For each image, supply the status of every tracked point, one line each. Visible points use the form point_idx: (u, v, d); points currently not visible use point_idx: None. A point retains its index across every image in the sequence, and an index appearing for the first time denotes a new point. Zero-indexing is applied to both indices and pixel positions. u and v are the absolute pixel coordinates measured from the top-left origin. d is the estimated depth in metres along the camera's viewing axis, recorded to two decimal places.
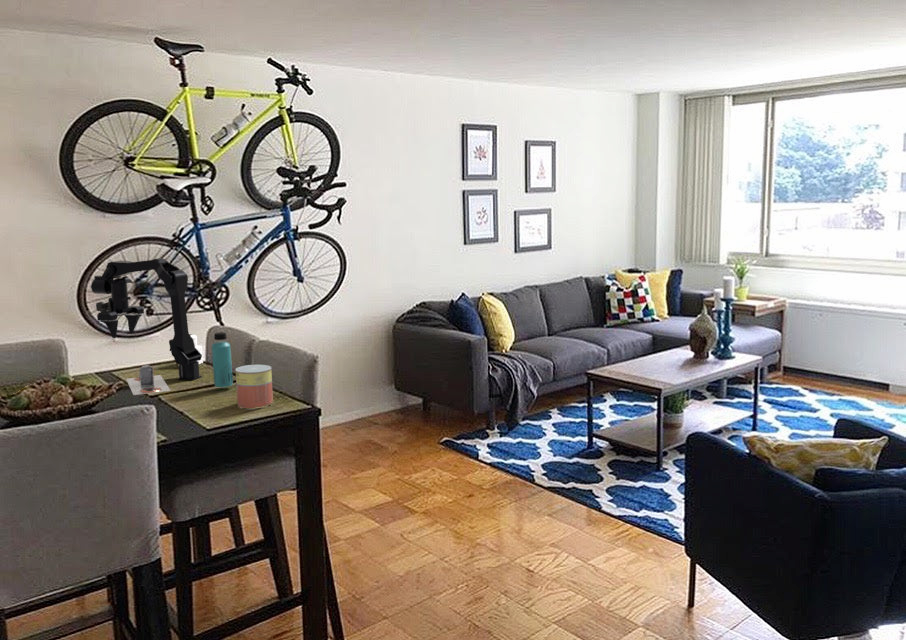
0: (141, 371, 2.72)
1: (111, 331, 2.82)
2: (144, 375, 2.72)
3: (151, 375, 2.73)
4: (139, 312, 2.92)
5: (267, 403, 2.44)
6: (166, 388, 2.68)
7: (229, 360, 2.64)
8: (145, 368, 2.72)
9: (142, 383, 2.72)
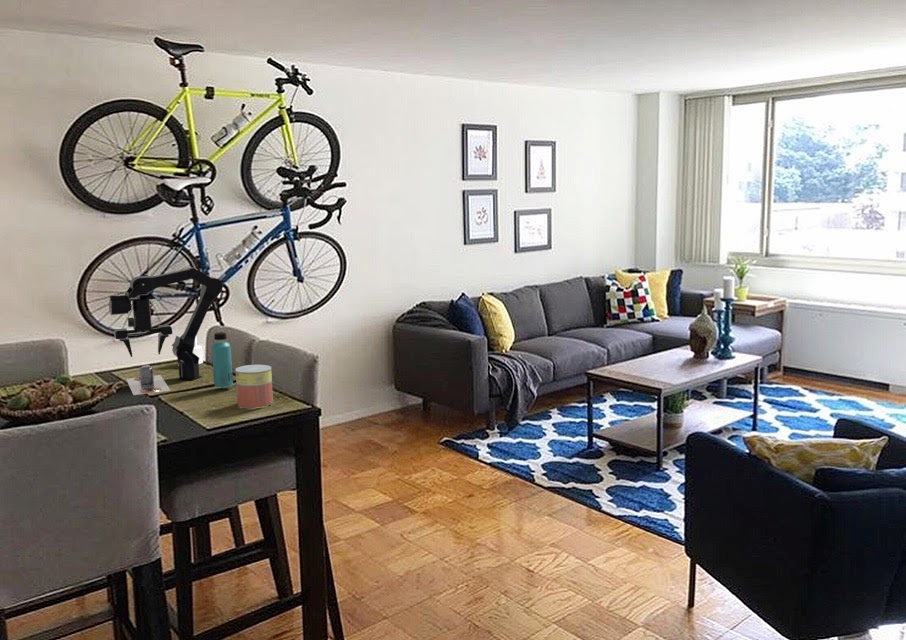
0: (141, 371, 2.72)
1: None
2: (144, 375, 2.72)
3: (151, 375, 2.73)
4: (163, 333, 2.72)
5: (267, 403, 2.44)
6: (166, 388, 2.68)
7: (229, 360, 2.64)
8: (145, 368, 2.72)
9: (142, 383, 2.72)
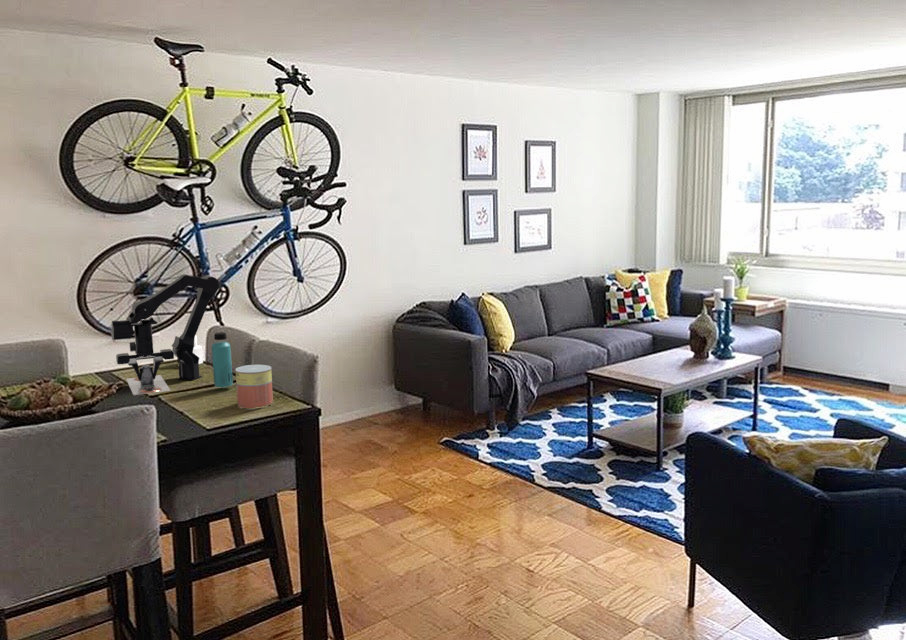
0: (141, 371, 2.72)
1: None
2: (144, 375, 2.72)
3: (151, 375, 2.73)
4: (165, 357, 2.73)
5: (267, 403, 2.44)
6: (166, 388, 2.68)
7: (229, 360, 2.64)
8: (145, 368, 2.72)
9: (142, 383, 2.72)
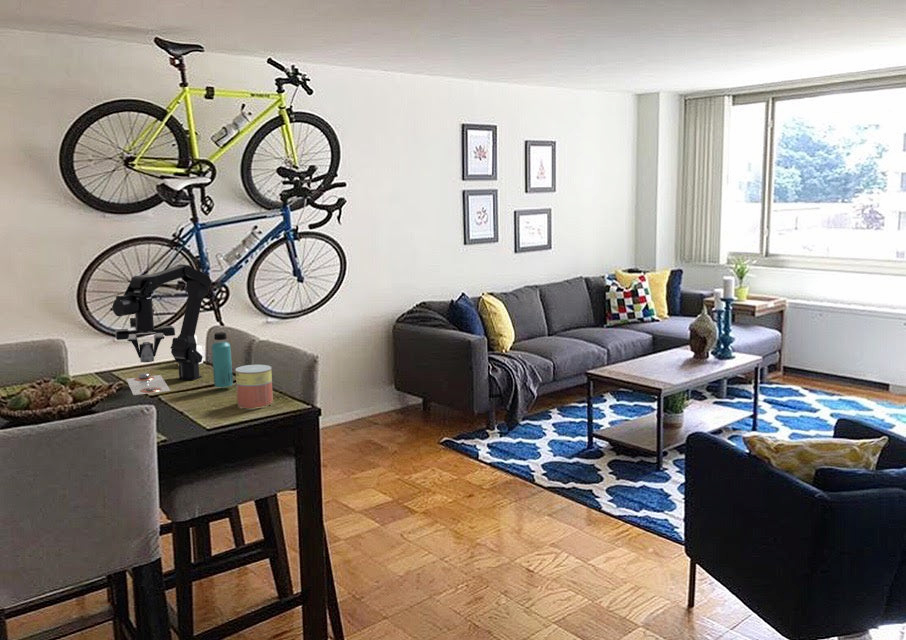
0: (141, 347, 2.62)
1: (136, 350, 2.63)
2: (143, 352, 2.62)
3: (151, 352, 2.64)
4: (166, 334, 2.63)
5: (267, 403, 2.44)
6: (166, 388, 2.68)
7: (229, 360, 2.64)
8: (145, 344, 2.62)
9: (142, 360, 2.63)
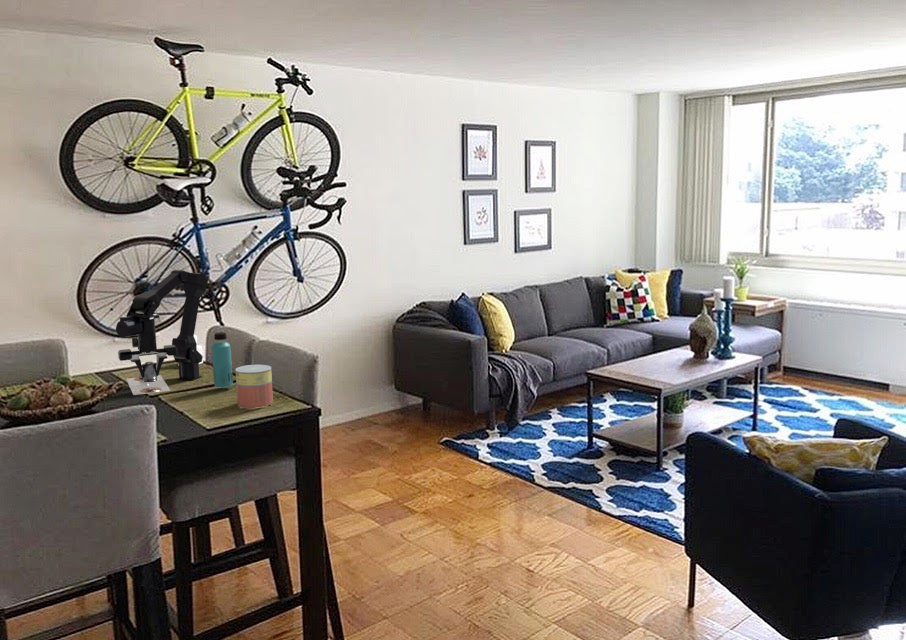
0: (144, 368, 2.62)
1: (139, 370, 2.63)
2: (147, 372, 2.62)
3: (154, 372, 2.64)
4: (169, 354, 2.64)
5: (267, 403, 2.44)
6: (166, 388, 2.68)
7: (229, 360, 2.64)
8: (148, 364, 2.63)
9: (145, 380, 2.63)
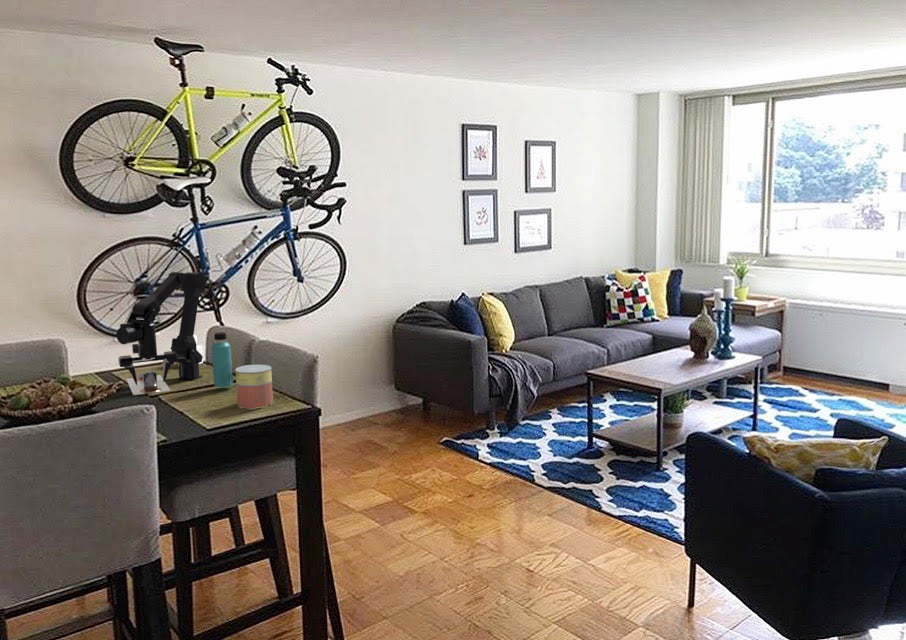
0: (144, 377, 2.63)
1: None
2: (147, 381, 2.63)
3: (155, 381, 2.64)
4: (169, 360, 2.64)
5: (267, 403, 2.44)
6: (166, 388, 2.68)
7: (229, 360, 2.64)
8: (148, 374, 2.63)
9: (145, 389, 2.64)
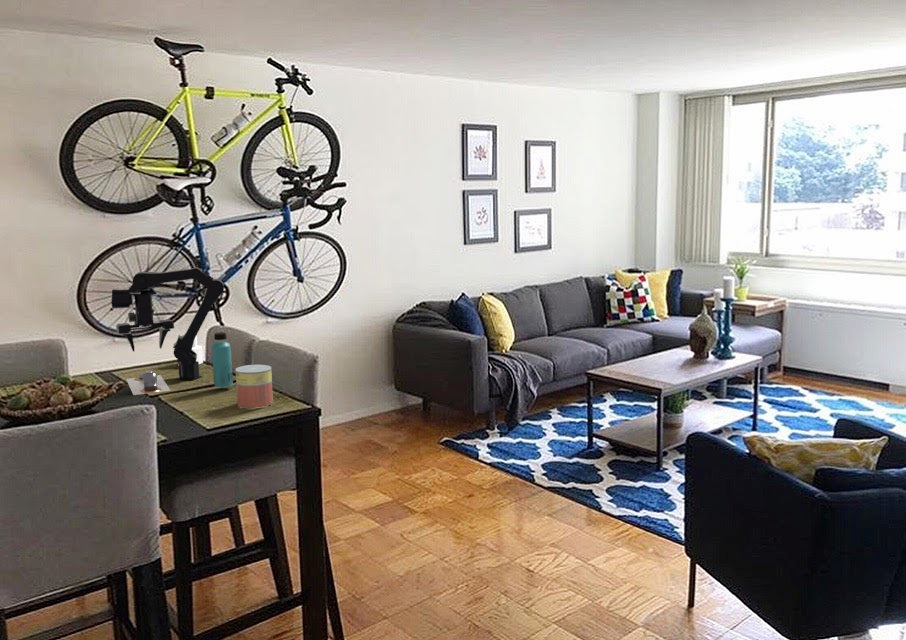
0: (144, 377, 2.63)
1: (130, 344, 2.73)
2: (147, 381, 2.63)
3: (155, 381, 2.64)
4: (165, 327, 2.76)
5: (267, 403, 2.44)
6: (166, 388, 2.68)
7: (229, 360, 2.64)
8: (148, 374, 2.63)
9: (145, 389, 2.64)
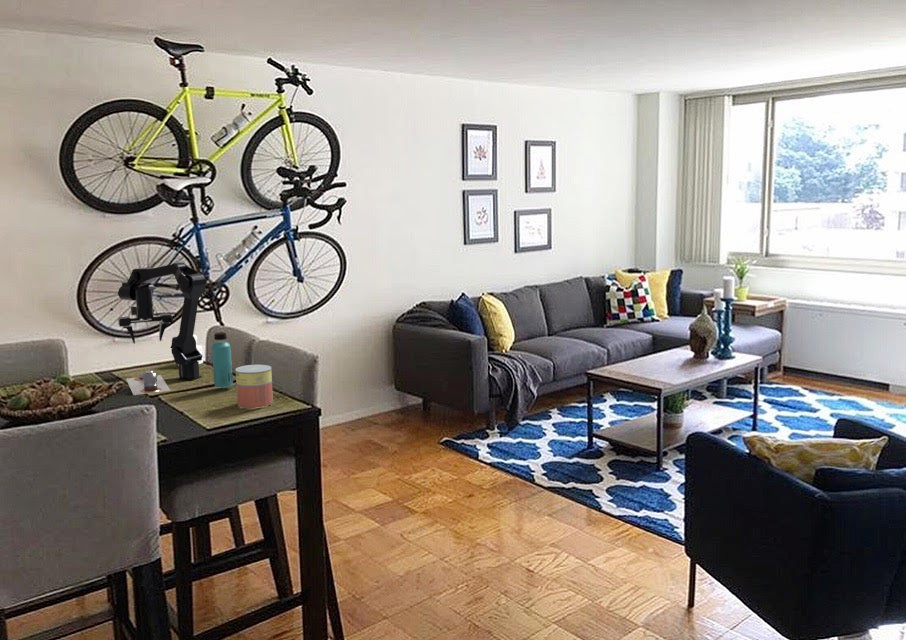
0: (144, 377, 2.63)
1: None
2: (147, 381, 2.63)
3: (155, 381, 2.64)
4: (164, 321, 2.88)
5: (267, 403, 2.44)
6: (166, 388, 2.68)
7: (229, 360, 2.64)
8: (149, 374, 2.63)
9: (145, 389, 2.64)
